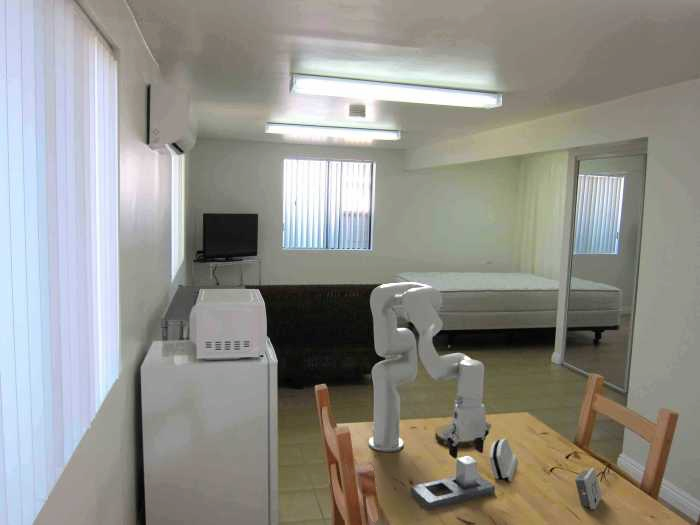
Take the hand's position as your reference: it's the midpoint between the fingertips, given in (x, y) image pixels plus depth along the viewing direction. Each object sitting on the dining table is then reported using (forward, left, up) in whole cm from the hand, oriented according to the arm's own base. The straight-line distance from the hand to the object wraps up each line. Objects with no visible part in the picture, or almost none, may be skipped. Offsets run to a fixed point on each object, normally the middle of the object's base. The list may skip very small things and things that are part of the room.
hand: (466, 453), depth 174 cm
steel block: (0, 0, -12) cm, 12 cm away
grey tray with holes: (+1, -5, -12) cm, 13 cm away
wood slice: (-32, +20, -12) cm, 40 cm away
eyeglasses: (+5, +43, -12) cm, 45 cm away
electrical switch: (+21, +30, -12) cm, 38 cm away
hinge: (-7, +21, -12) cm, 25 cm away
